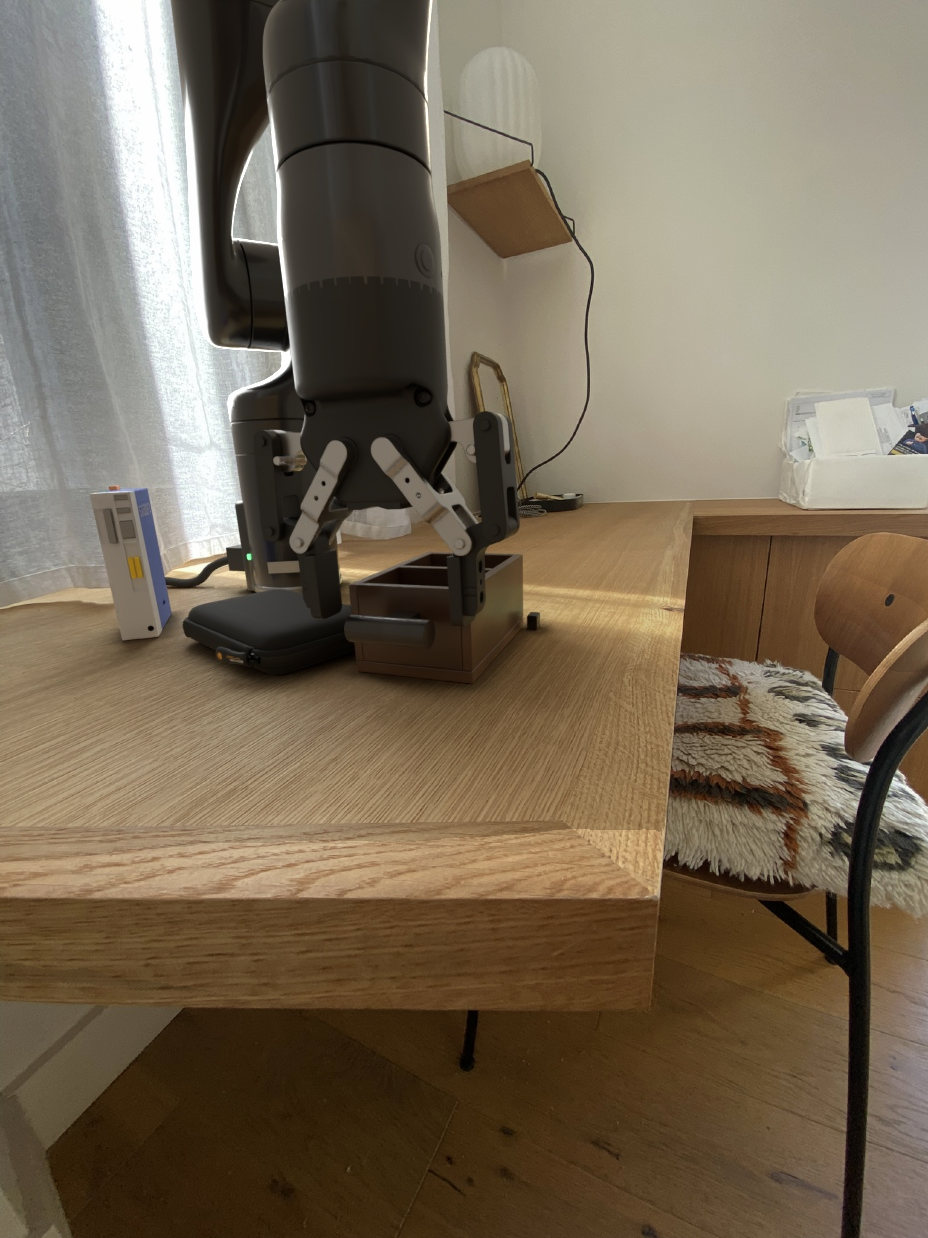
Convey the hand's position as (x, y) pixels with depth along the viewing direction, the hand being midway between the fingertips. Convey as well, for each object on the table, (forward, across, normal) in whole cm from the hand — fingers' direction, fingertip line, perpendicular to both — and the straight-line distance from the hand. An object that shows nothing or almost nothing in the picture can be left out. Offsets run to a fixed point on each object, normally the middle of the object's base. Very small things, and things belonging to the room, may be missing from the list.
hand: (392, 619), depth 31 cm
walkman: (+4, +28, -8) cm, 30 cm away
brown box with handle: (+4, 0, -7) cm, 8 cm away
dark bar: (+4, 0, -14) cm, 15 cm away
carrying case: (+5, +13, -6) cm, 15 cm away
